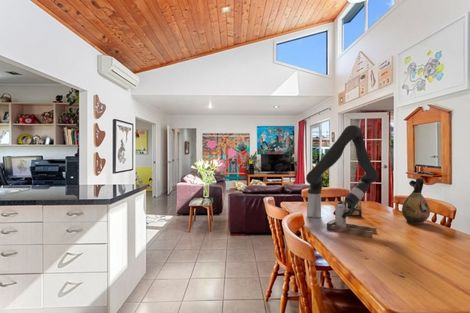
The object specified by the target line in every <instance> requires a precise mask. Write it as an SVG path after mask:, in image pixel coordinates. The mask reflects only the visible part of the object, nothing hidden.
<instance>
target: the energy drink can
mask: <svg viewBox="0 0 470 313" xmlns="http://www.w3.org/2000/svg"><path fill="white" fill-rule="evenodd" d="M335 206H336V207H335ZM335 206H334V208H335V209H334V211H335V215H334V216H335V218H334V220H335V225H336V226H342V227H346V223H347V217H346V218H345V219H344V218H342V215H343V214H344V213H345V212H346V207H345V205H343V204H338V203H336V205H335Z"/></svg>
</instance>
